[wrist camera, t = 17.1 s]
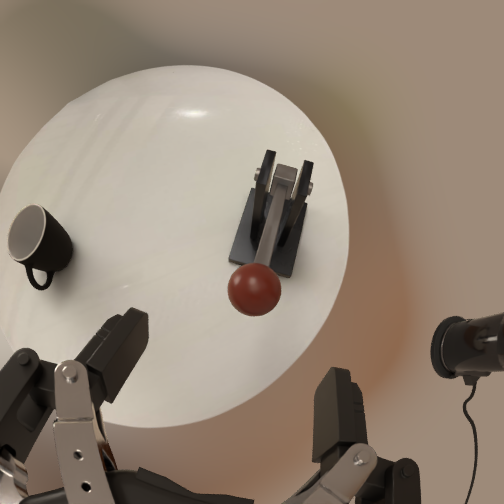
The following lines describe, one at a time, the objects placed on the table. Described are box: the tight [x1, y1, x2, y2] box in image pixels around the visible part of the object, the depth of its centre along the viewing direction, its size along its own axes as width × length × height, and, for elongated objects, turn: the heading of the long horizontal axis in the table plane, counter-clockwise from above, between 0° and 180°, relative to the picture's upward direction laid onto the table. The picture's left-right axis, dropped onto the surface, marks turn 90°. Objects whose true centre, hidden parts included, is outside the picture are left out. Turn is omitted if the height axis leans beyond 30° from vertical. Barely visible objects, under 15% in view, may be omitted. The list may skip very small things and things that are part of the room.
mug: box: [7, 204, 73, 290], centre depth 33 cm, size 12×9×10 cm
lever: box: [228, 164, 298, 316], centre depth 23 cm, size 17×4×4 cm, turn 165°
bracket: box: [229, 150, 314, 278], centre depth 34 cm, size 12×9×16 cm
